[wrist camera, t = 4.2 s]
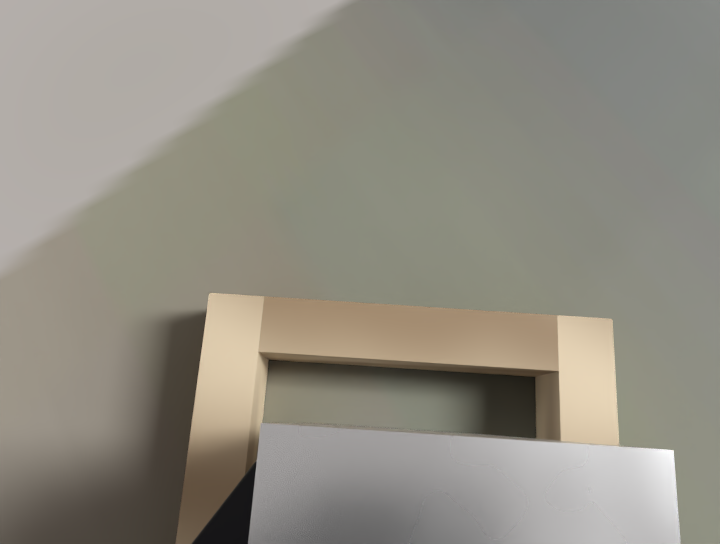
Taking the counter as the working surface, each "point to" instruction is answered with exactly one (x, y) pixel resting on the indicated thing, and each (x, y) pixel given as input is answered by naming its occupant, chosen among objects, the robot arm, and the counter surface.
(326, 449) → the steel cap block
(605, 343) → the oak socket frame
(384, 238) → the counter surface
